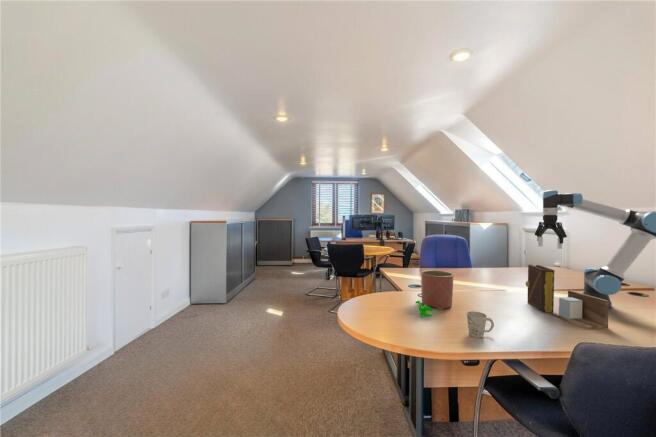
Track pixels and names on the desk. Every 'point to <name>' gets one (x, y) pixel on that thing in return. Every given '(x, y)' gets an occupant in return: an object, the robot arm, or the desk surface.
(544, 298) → the book
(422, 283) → the planter
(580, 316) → the white block
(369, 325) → the desk surface
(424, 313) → the figurine
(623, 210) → the robot arm
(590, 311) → the wooden bookend
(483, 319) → the mug
